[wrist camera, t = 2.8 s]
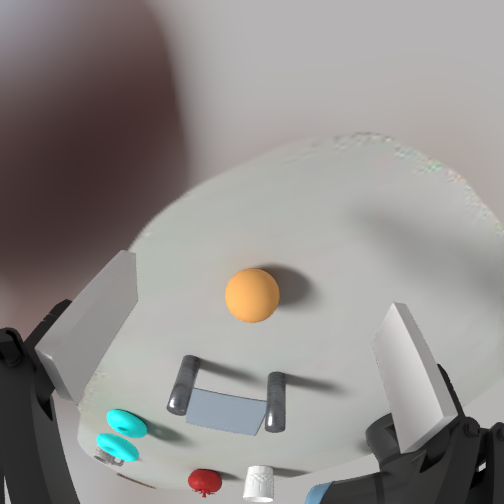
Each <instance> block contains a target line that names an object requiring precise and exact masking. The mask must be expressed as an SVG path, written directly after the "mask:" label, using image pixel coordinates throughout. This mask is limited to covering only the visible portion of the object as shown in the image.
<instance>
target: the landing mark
mask: <svg viewBox="0 0 504 504" xmlns="http://www.w3.org/2000/svg"><path fill="white" fill-rule="evenodd" d="M266 403H267V401H261V400H255V399H248V398H242V397H236V396H231V395H225V394H220V393H215V392H211V391H206V390H201V389H197V388H193V391H192V395H191V398H190V402H189V405H188V409H187V413H186V423H189V424H193V425H197V426H202V427H206V428H211V429H216V430H222V431H227V432H233V433H239V434H246V435H253V436H255V434H256V432H257V430H258V428H259V426H260V424H261V422H262V420H263V418H264V415H265V413H266Z"/></svg>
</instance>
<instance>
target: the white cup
mask: <svg viewBox="0 0 504 504" xmlns="http://www.w3.org/2000/svg"><path fill="white" fill-rule="evenodd" d="M243 499H244V500H247V501H252V502H270V501H273V500H274V477H273V468H271V467H268V466H251V467H249V468H248V473H247V477H246V482H245V488H244V494H243Z"/></svg>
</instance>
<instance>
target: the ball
mask: <svg viewBox="0 0 504 504" xmlns="http://www.w3.org/2000/svg"><path fill="white" fill-rule="evenodd" d="M279 298H280V293H279V288H278V285H277V283H276V281H275V280H274V278H273V277H272V276H271V275H270V274H268V273H267V272H265V271H263V270H260V269H255V268H250V269H245V270H242V271H240V272H238V273H236V274H235V275H234V276H233V277H232V278H231V279H230V281H229V282H228V284H227V287H226V291H225V301H226V304H227V307H228V309H229V310H230V312H231V313H232V314H233V315H234V316H235V317H236V318H238V319H239V320H242V321H244V322H249V323H256V322H260V321H263V320H265V319H267V318H268V317H270V316H271V315H272V314H273V313H274V311H275V310H276V308H277V306H278V303H279Z"/></svg>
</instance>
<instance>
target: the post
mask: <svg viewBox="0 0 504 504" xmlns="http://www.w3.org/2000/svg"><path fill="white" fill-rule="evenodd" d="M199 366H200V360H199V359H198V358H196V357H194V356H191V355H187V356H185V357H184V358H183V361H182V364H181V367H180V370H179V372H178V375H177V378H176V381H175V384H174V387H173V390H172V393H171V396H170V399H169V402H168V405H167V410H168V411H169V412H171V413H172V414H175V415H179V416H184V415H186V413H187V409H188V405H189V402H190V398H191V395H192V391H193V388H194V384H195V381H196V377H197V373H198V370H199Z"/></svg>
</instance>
